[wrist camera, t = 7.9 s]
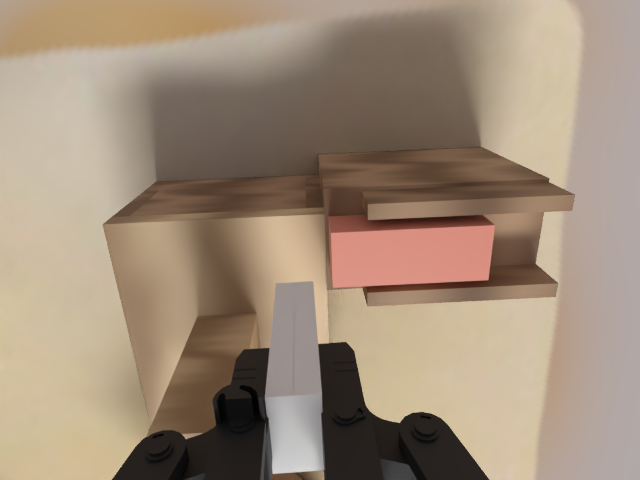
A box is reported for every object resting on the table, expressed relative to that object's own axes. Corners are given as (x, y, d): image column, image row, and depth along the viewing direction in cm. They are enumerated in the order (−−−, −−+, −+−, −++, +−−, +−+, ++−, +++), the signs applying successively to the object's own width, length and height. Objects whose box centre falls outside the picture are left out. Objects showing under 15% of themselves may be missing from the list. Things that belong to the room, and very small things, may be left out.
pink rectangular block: (329, 266, 24) (332, 287, 22) (328, 216, 23) (330, 232, 21) (471, 259, 25) (488, 280, 22) (476, 209, 23) (494, 225, 21)
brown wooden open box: (192, 379, 39) (148, 503, 28) (152, 161, 31) (70, 213, 20) (459, 364, 39) (520, 482, 28) (481, 147, 32) (575, 190, 21)
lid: (165, 453, 31) (106, 621, 22) (111, 217, 25) (-9, 312, 15) (332, 443, 32) (344, 606, 22) (323, 207, 25) (335, 295, 15)
